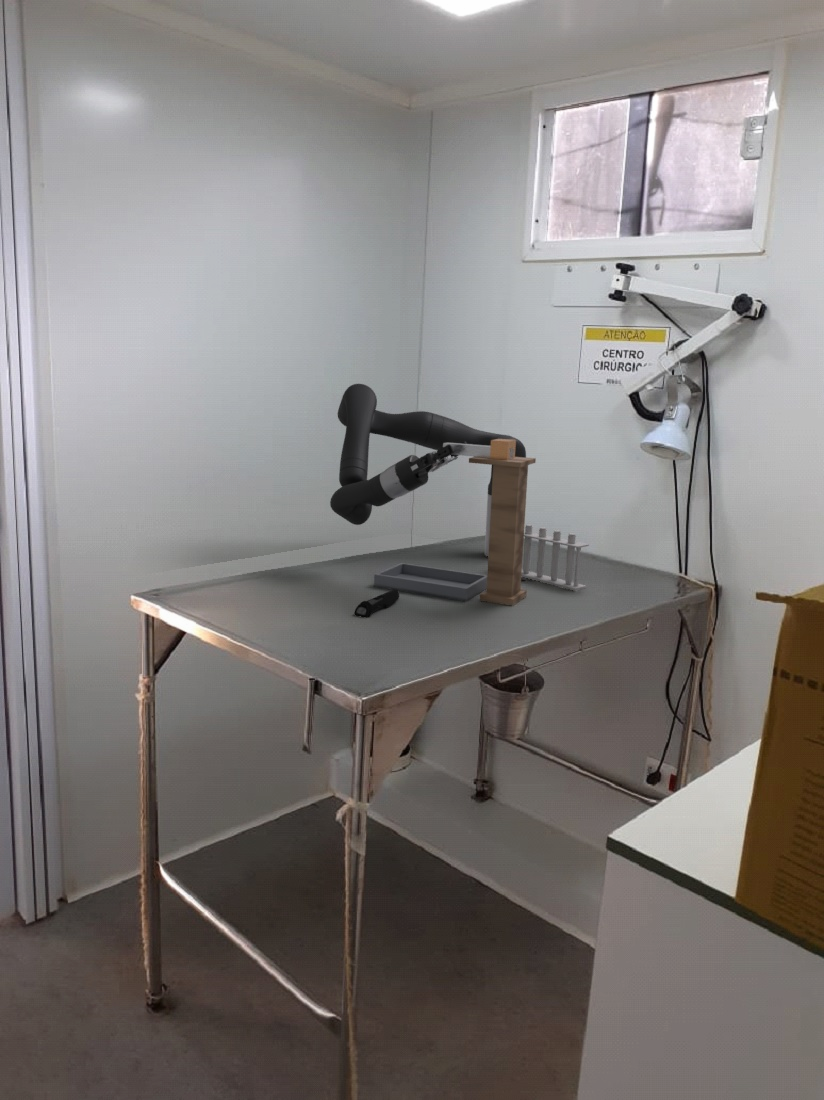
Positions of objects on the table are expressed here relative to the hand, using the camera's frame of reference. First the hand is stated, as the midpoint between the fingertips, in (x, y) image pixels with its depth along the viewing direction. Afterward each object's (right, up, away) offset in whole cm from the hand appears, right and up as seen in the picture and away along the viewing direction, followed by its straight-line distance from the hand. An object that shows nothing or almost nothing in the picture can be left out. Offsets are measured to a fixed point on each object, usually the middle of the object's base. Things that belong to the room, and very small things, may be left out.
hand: (459, 446), depth 195 cm
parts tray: (-6, -32, +10) cm, 34 cm away
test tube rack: (+21, -31, +21) cm, 43 cm away
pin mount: (+8, -34, +3) cm, 35 cm away
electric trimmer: (-18, -36, -8) cm, 42 cm away
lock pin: (+4, -2, -1) cm, 5 cm away
